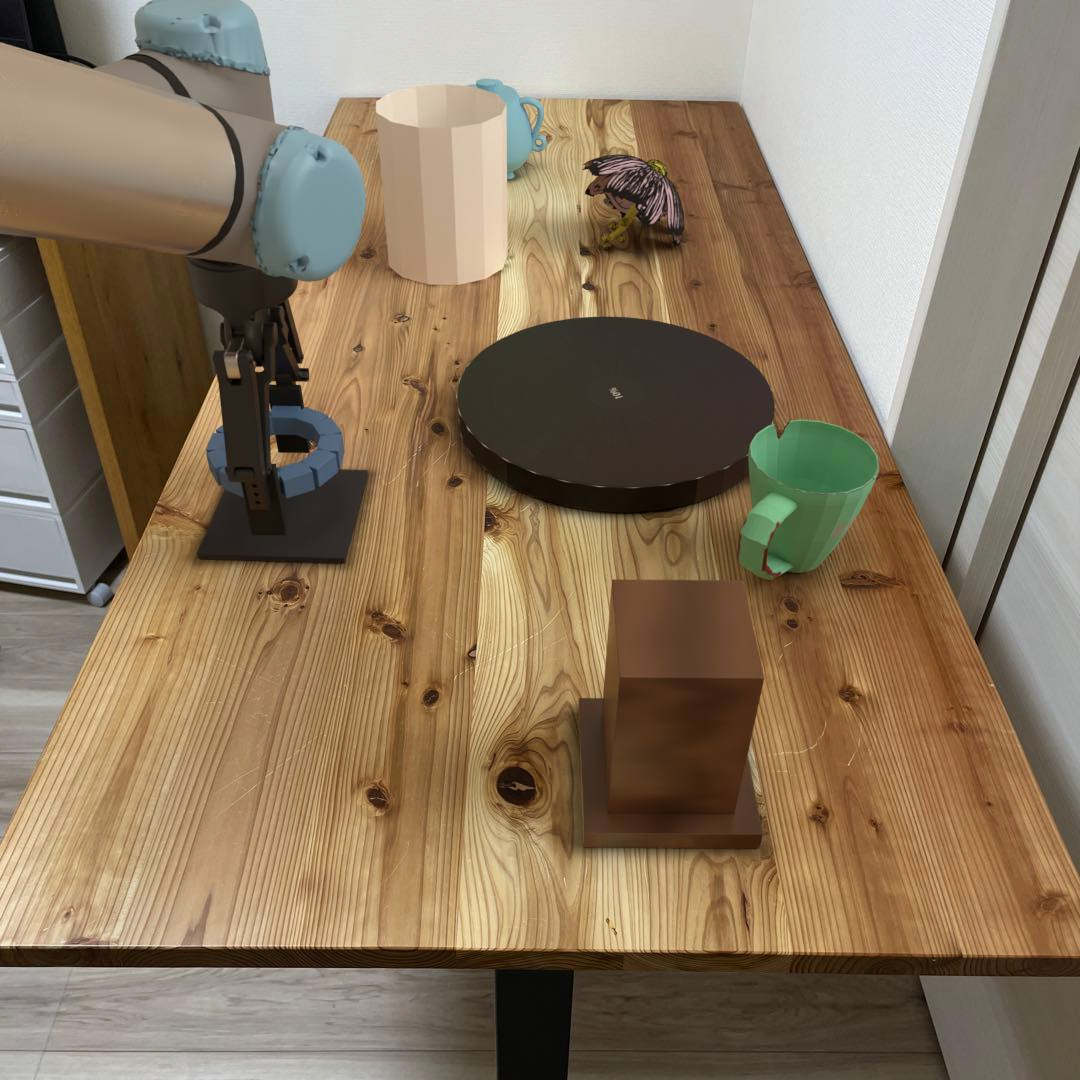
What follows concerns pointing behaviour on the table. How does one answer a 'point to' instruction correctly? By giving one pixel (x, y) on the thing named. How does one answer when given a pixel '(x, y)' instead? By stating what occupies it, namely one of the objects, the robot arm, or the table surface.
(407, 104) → the container
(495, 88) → the teapot
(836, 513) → the mug
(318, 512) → the mat
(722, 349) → the disc
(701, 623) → the stand
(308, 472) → the ring
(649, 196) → the decorative flower
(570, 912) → the table surface
